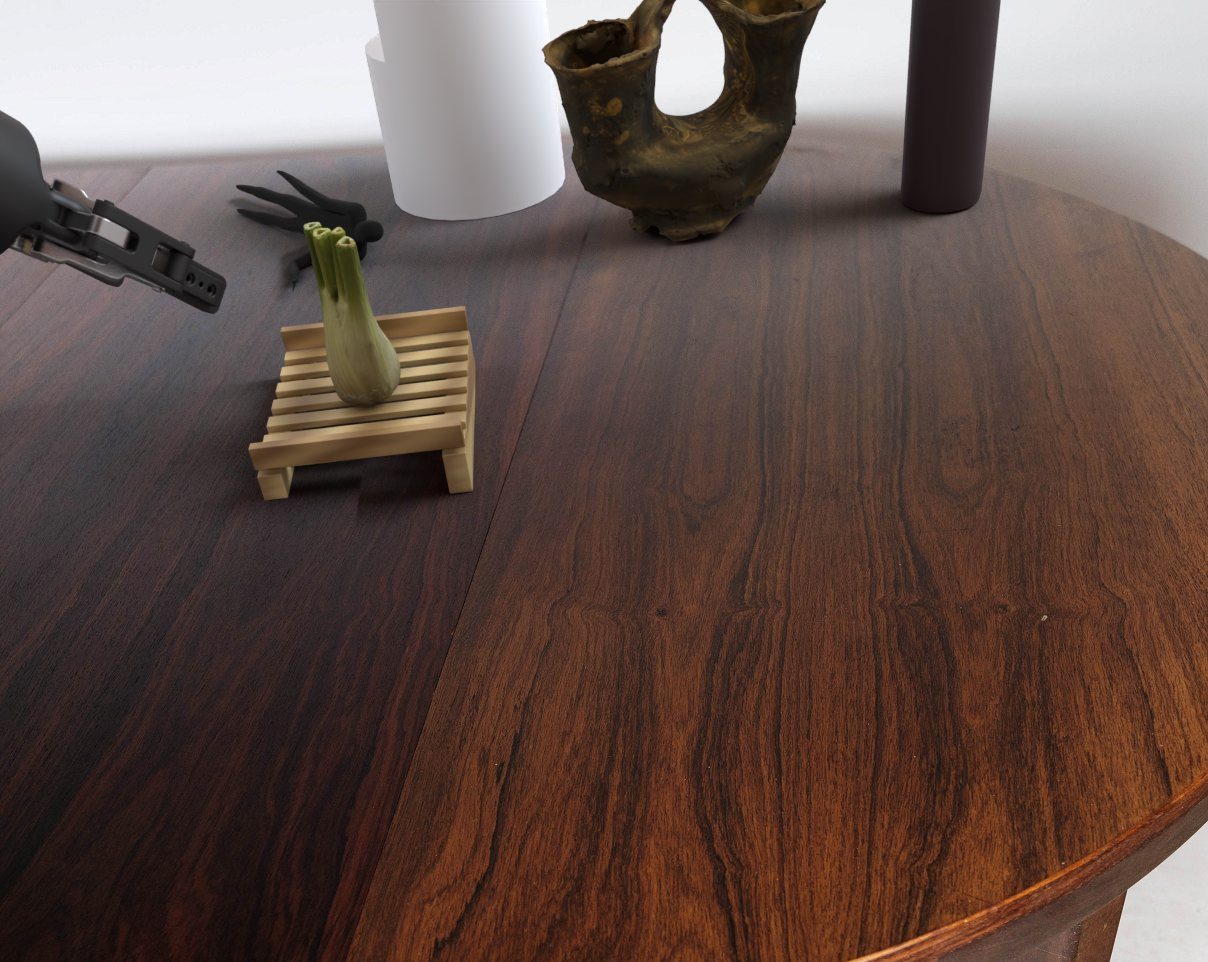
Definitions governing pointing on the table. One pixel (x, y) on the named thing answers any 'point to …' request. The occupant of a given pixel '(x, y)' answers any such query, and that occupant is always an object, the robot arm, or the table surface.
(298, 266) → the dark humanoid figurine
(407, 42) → the cylinder
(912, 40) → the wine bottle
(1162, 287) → the table surface
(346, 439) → the drying rack
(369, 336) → the fennel bulb
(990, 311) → the table surface
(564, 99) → the pottery vessel
